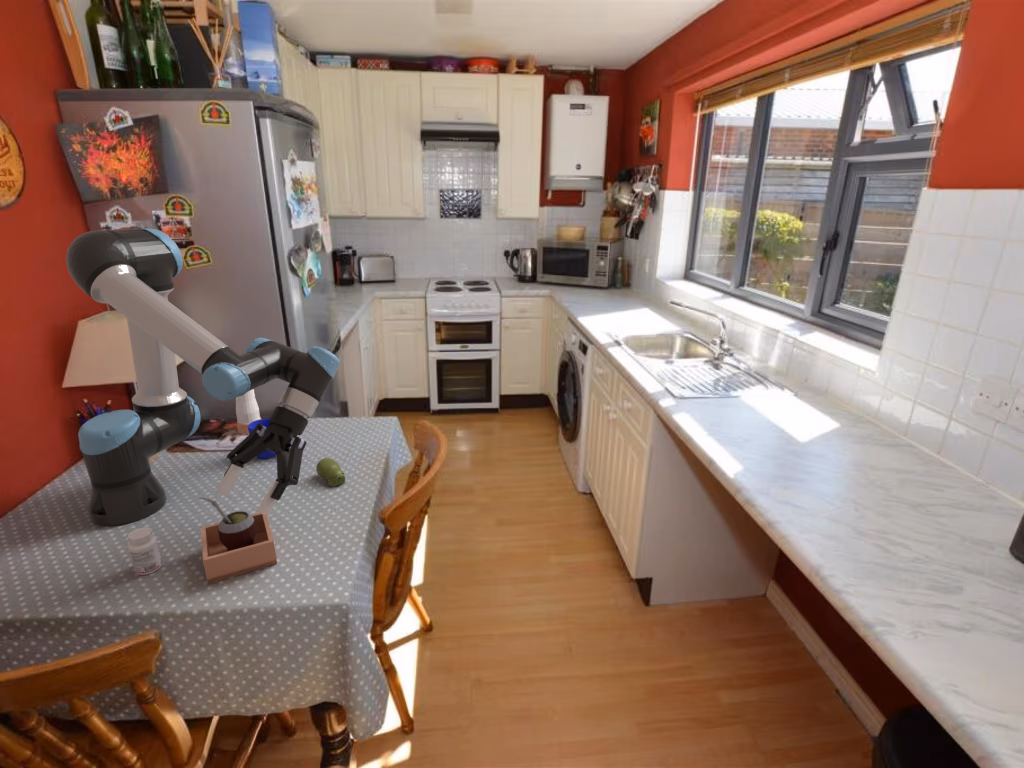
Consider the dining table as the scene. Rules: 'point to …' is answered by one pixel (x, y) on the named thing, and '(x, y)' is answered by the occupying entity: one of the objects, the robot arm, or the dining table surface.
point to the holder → (237, 552)
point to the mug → (266, 423)
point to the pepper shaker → (246, 411)
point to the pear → (330, 471)
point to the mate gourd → (235, 528)
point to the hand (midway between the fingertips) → (241, 504)
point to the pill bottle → (144, 551)
